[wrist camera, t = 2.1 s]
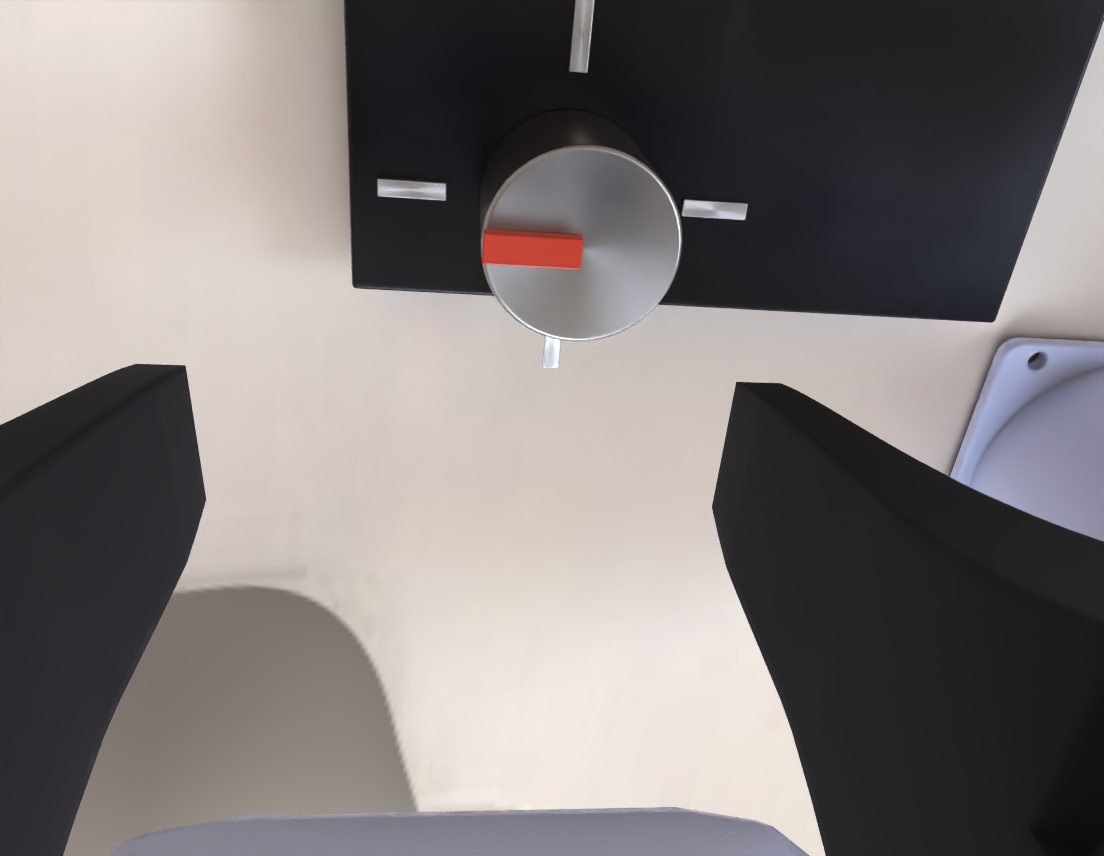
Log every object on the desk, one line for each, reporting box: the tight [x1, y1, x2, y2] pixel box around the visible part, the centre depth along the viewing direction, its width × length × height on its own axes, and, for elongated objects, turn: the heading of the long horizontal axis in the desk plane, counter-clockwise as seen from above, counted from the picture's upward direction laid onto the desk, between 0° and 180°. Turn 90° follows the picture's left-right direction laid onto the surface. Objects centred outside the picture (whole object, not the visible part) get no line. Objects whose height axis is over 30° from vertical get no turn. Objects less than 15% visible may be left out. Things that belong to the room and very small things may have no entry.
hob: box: [344, 0, 1104, 368], centre depth 18 cm, size 15×15×2 cm
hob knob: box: [480, 110, 683, 341], centre depth 17 cm, size 4×4×4 cm
